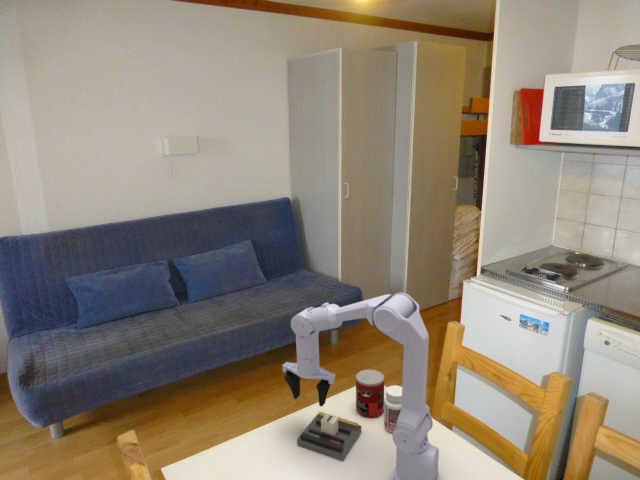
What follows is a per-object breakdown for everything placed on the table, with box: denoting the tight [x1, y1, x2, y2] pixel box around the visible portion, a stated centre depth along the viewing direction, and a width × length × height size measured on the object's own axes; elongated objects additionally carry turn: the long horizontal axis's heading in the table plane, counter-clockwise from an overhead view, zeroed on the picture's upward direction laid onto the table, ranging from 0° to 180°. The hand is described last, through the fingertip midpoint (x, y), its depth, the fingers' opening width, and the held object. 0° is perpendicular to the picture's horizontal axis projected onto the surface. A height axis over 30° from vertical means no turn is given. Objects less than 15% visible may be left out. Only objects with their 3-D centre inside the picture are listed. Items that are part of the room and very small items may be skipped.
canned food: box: [355, 369, 385, 419], centre depth 134 cm, size 8×8×11 cm
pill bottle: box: [383, 385, 402, 434], centre depth 127 cm, size 6×6×11 cm
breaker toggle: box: [321, 413, 338, 436], centre depth 123 cm, size 4×3×4 cm
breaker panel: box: [296, 411, 362, 462], centre depth 124 cm, size 13×12×3 cm
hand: (309, 400), depth 124 cm, fingers open, 7 cm apart
